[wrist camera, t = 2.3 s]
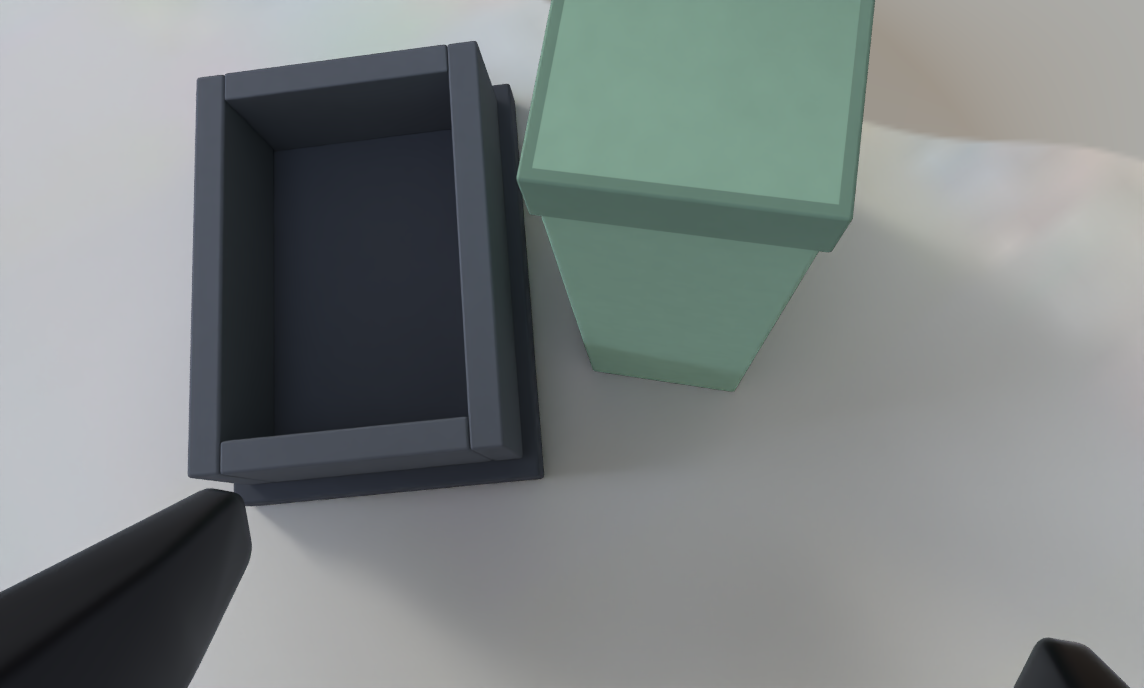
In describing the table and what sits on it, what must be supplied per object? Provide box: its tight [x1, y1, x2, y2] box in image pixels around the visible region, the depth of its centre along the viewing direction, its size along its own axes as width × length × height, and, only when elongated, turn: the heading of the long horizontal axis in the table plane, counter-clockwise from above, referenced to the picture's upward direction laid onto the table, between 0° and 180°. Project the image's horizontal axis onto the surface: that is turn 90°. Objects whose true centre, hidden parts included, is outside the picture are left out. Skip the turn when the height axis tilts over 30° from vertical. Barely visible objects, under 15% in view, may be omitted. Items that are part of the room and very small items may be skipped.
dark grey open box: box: [188, 41, 544, 506], centre depth 22 cm, size 12×8×4 cm
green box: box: [517, 0, 875, 392], centre depth 17 cm, size 7×4×13 cm, turn 170°
